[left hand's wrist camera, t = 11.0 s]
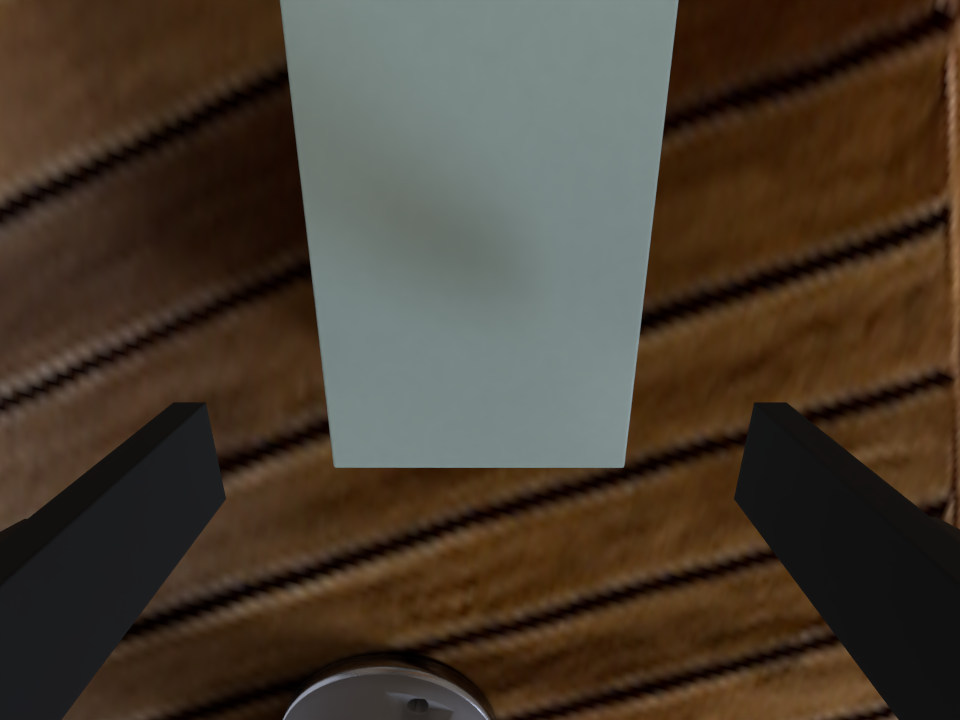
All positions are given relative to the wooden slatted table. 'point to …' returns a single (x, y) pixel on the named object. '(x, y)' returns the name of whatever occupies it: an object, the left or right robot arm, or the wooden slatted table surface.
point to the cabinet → (479, 221)
